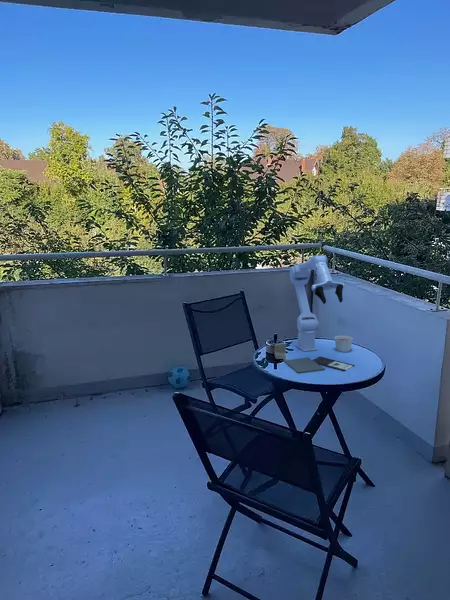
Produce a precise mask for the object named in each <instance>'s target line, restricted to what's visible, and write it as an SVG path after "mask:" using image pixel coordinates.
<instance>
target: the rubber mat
mask: <svg viewBox="0 0 450 600" xmlns="http://www.w3.org/2000/svg"><path fill="white" fill-rule="evenodd" d="M283 363H284V364H286V365H287V367H290V369H292V370H293V371H295V372H296V373H297V374H304V373H315V372H319V371H325V370H326V367H325V368H324V366H321V365H319V364H317V363H316V362H314V361H313V359H312V358H311V357H302V358H301V357H300V358H293V359H291V358H290V359H286V360H283Z"/></svg>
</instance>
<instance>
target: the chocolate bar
mask: <svg viewBox="0 0 450 600" xmlns="http://www.w3.org/2000/svg"><path fill="white" fill-rule="evenodd" d="M312 360H313V361H314V362H316V363H317V364H319V365H320V366H322V367H325V368H329V369H334V370H337V371H341V372H346V371H348V370H350V369H352V368H354V367H355V364H353V363H351V364H350V363H348V362H344V361H343V362H342V361H339V360H336V359H332V358H328V357H323V356H318V357H315V358H313V359H312Z"/></svg>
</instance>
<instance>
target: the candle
mask: <svg viewBox="0 0 450 600" xmlns="http://www.w3.org/2000/svg"><path fill="white" fill-rule="evenodd" d="M353 340H354V338H353V337H352V336H350V335H336V336H334V344H335V349H336V351H338V352H342V353H348V352H350V351H351V349H352V345H353Z"/></svg>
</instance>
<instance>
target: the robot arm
mask: <svg viewBox="0 0 450 600" xmlns="http://www.w3.org/2000/svg"><path fill="white" fill-rule="evenodd" d="M313 270H314V271H313ZM311 271H313V272H315V273H316V276H317V279H318V282H319V283H316V284H312V285H311V291H312V292H314V295H315V296H317V298H319V300H320V301H321V303H323V305H325V304H326V302H327V298H326V296H325V293H324V291H329V290H333V289H335V292H334V294H335V295H336V296H337V298H338V302H339V303H342V302H343V289H344V287H345V284H344V282H339V281H334V280H333V278H332V275H331V272H330V270H329V267H328V257H327V255H313V256H310V258H308V259H307V260H306V262H303V263H302V262H301V263H298V264H295V265H293V266H291V267H290V268H289V278H290V282H291V284H292V285H294V290H295V294H296V297H297V302H298V306H299V310H300V315H299V316H298V317H297V318H296V328H297V329H298V333H297V344H296V345H295V346H296V348H298V349H300V350H301V351H302V352H309V351H311V352H312V351H318V350H319V349H318V348H317V347H316V346H315V345H316V344H315V343H316V342H315V341H316V333H317V331H318V330H319V329H320V328H319V327H320V323H319V320H318V319H317V316H316V314H314V313H313V312H311V308H310V303H309V301H308V296H307V292H306V288H305V285H306V284H308V283H309V280H310V277H311Z"/></svg>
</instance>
